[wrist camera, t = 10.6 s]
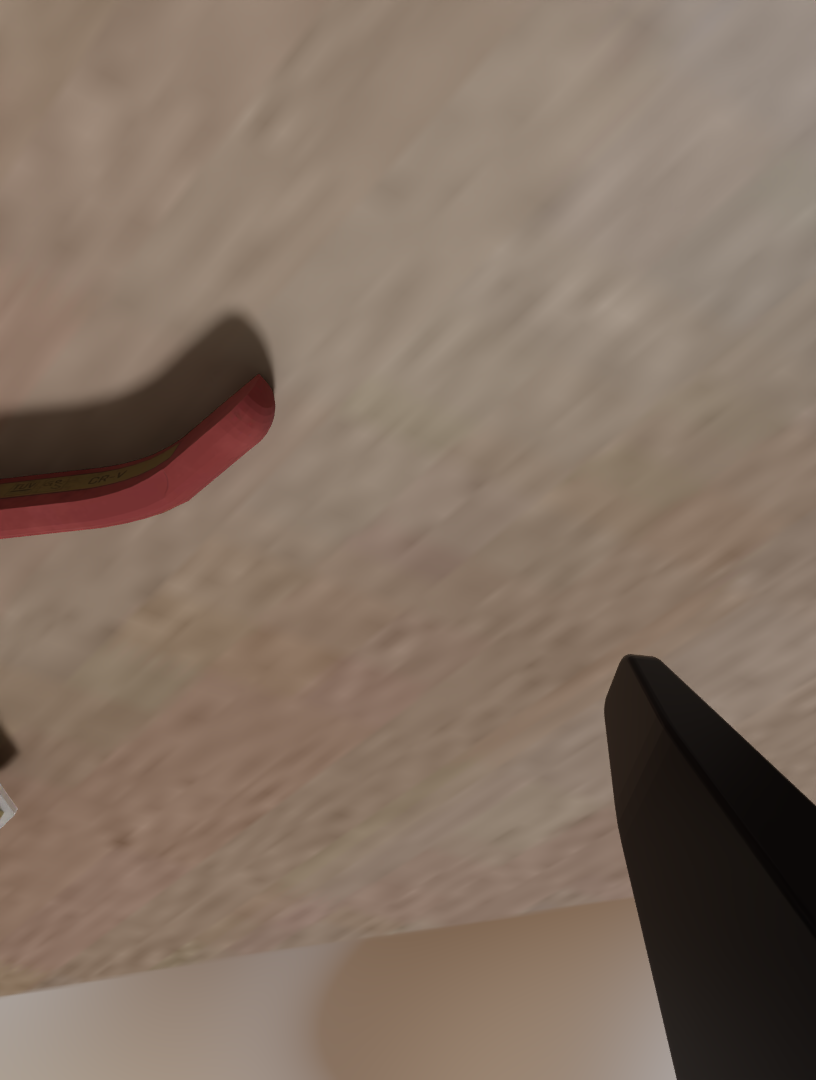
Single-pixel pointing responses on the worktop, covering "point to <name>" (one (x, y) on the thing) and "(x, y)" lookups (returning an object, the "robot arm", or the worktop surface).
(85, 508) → the pliers
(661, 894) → the robot arm
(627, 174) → the worktop surface
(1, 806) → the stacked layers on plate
